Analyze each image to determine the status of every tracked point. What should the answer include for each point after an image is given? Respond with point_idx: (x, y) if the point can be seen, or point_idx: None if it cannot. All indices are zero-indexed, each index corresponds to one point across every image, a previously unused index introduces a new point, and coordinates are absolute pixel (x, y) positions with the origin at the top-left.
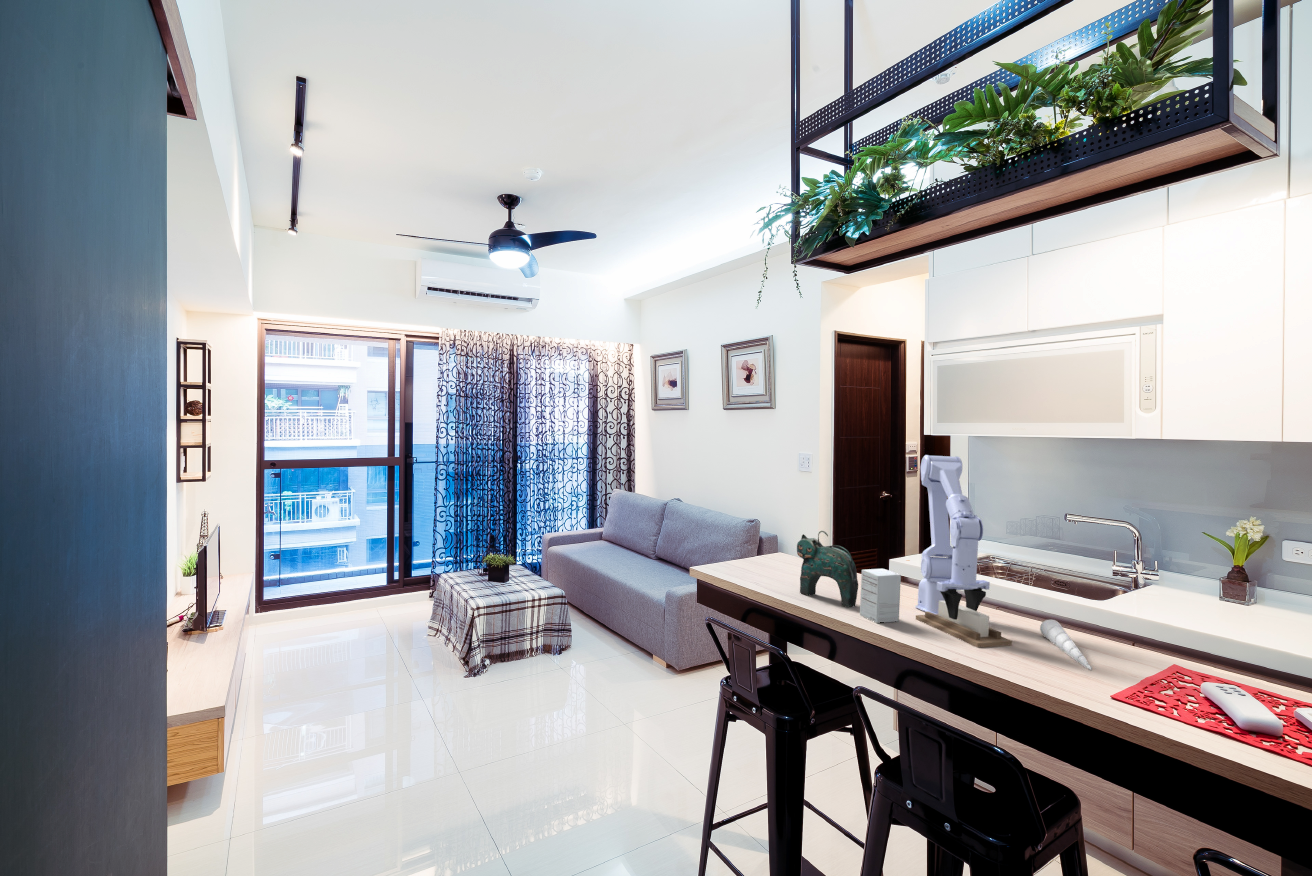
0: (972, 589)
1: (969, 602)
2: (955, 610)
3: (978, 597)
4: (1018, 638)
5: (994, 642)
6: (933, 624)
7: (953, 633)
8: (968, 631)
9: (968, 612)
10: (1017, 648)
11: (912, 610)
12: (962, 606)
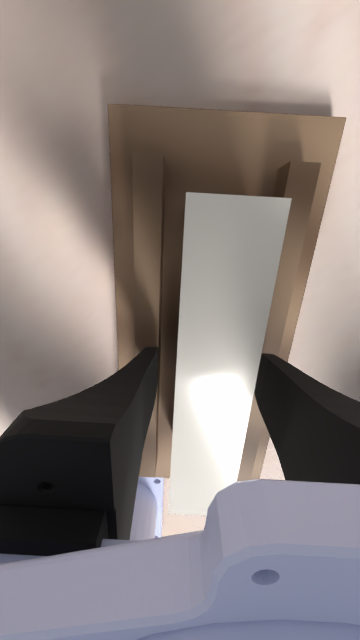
0: (106, 538)
1: (141, 431)
2: (306, 374)
3: (123, 408)
4: (3, 198)
5: (230, 112)
6: None
7: (299, 298)
8: (303, 230)
9: (268, 314)
10: (126, 50)
11: (189, 525)
12: (184, 423)
